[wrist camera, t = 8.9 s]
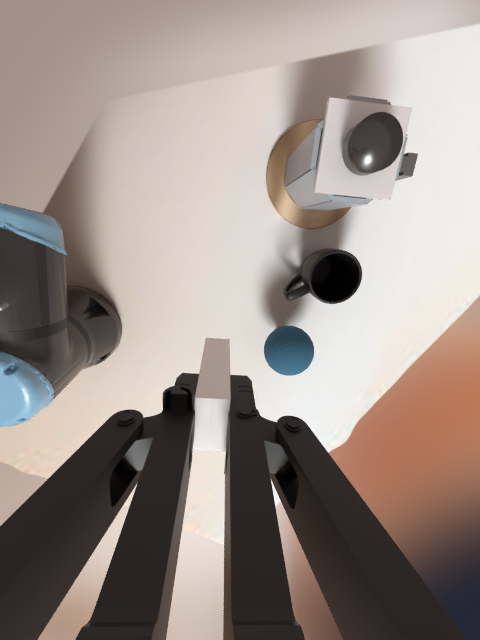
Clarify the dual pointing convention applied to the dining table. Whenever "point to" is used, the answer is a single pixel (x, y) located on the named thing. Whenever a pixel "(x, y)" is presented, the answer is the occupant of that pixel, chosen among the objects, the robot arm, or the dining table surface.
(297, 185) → the carafe
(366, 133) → the plunger
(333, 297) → the mug
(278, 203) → the cork trivet
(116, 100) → the dining table surface
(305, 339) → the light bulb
